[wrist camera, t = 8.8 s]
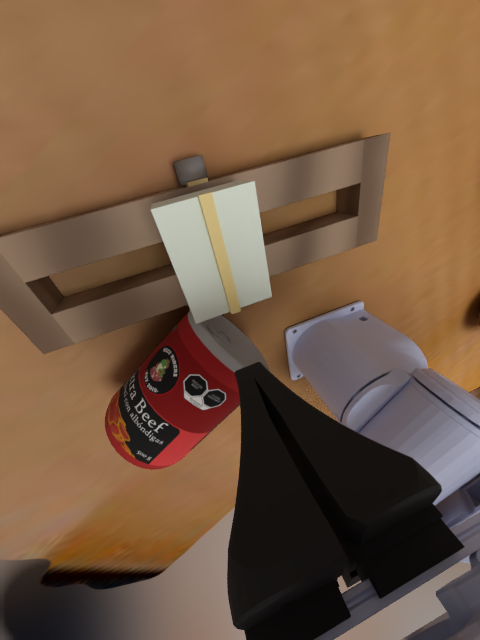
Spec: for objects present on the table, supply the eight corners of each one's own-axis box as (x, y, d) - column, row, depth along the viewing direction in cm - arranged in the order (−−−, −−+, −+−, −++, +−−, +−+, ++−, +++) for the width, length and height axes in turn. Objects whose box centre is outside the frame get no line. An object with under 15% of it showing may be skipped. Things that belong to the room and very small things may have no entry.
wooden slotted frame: (363, 115, 16) (393, 106, 14) (354, 248, 22) (374, 255, 20) (-43, 217, 13) (-80, 225, 11) (67, 346, 18) (56, 367, 16)
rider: (225, 179, 15) (256, 179, 11) (244, 270, 19) (274, 299, 14) (151, 199, 15) (150, 208, 10) (186, 289, 18) (196, 327, 14)
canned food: (92, 389, 19) (178, 289, 17) (168, 392, 25) (236, 321, 23) (112, 488, 14) (230, 370, 12) (197, 461, 21) (284, 381, 19)
